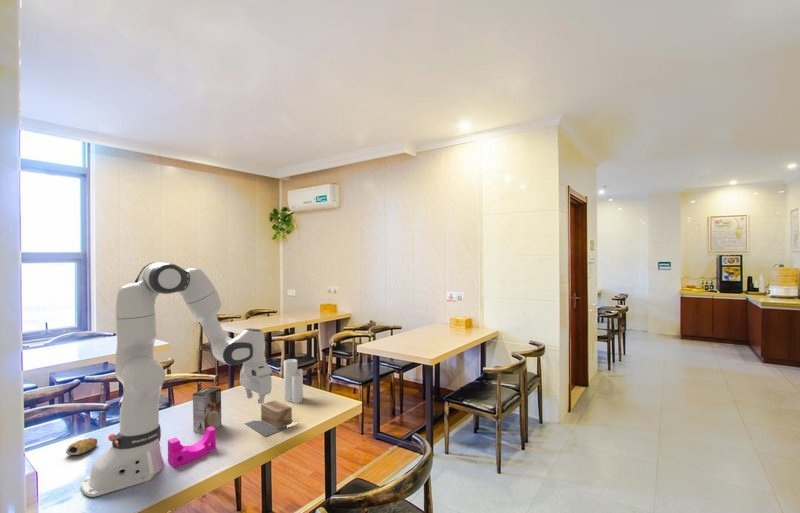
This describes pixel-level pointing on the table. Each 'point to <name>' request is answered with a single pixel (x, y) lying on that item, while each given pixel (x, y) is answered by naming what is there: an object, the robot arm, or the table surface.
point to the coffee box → (206, 409)
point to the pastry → (81, 446)
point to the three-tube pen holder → (293, 381)
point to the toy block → (191, 448)
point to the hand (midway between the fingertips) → (255, 400)
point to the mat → (264, 428)
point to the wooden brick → (276, 414)
